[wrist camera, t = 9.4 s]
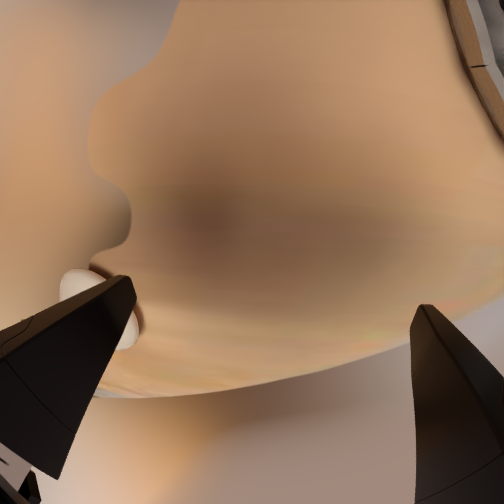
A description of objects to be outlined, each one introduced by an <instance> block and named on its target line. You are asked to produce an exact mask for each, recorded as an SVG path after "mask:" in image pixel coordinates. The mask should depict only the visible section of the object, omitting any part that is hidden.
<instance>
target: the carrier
mask: <svg viewBox="0 0 504 504" xmlns="http://www.w3.org/2000/svg"><path fill="white" fill-rule="evenodd" d="M445 2H446V8H447V13H448V17H449V21H450V25H451V29H452V32H453V35H454V38H455V42H456V45H457V48H458V51H459V53H460V56H461V58H462V61H463V64H464V67H465V69H466V71H467V73H468V76H469V78H470V80H471V83H472V85H473V87H474V89H475V91H476V93H477V95H478V97H479V99H480V101H481V103H482V105H483V107H484V109H485V111H486V112H487V114H488V116H489V118H490V120H491V122H492V123H493V125H494V126H495V128H496V129H497V131H498V133H499V134H500V136H501V137H502V139H503V140H504V0H445Z"/></svg>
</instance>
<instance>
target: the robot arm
mask: <svg viewBox="0 0 504 504" xmlns="http://www.w3.org/2000/svg"><path fill="white" fill-rule="evenodd" d="M136 300H137V296H136V292H135V289H134V286H133V283H132V280H131V278H130V277H129V276H125V275H117V276H115V277H112V278H110V279H108V280H106V281H104V282H102V283H99V284H97V285H95V286H93V287H91V288H89V289H87V290H84V291H82V292H80V293H78V294H76V295H74V296H72V297H70V298H68V299H66V300H63V301H61V302H59V303H57V304H55V305H53V306H51V307H49V308H47V309H45V310H43V311H41V312H39V313H37V314H35V316H34V315H33V316H31V317H29V318H27V319H25V320H23V321H21V322H19V323H17V324H15V325H13V326H10V327H8V328H6V329H4V330H1V331H0V504H40V502H41V497H40V493H39V489H38V485H37V480H36V475H35V473H34V472H33V471H32V470H31V467H32V465H33V466H34V467H36V468H37V469H39V470H40V471H42V472H44V473H45V474H47V475H49V476H51V477H53V478H54V479H56V480H58V479H59V477H60V474H61V472H62V469H63V466H64V463H65V461H66V458H67V456H68V453H69V450H70V448H71V445H72V443H73V440H74V438H75V434H76V433H77V430H78V428H79V426H80V423H81V421H82V418H83V416H84V414H85V412H86V410H87V407H88V405H89V403H90V401H91V399H92V396H93V394H94V392H95V390H96V388H97V386H98V384H99V381H100V379H101V377H102V375H103V373H104V371H105V369H106V367H107V365H108V363H109V361H110V359H111V357H112V355H113V353H114V351H115V349H116V347H117V345H118V343H119V341H120V339H121V337H122V335H123V333H124V330H125V328H126V325H127V323H128V320H129V318H130V315H131V313H132V311H133V308H134V306H135V304H136ZM410 345H411V377H412V389H413V398H414V411H415V425H416V426H415V427H416V488H415V503H414V504H504V377H503V376H502V375H501V374H500V373H499V372H498V370H497V369H496V368H495V367H494V366H493V365H492V364H491V363H490V362H489V361H488V360H487V359H486V358H485V356H484V355H483V354H482V353H481V352H480V351H479V350H478V349H477V348H476V347H475V346H474V345H473V344H472V343H471V342H470V341H469V340H468V339H467V338H466V337H465V336H464V335H463V334H462V333H461V332H460V331H459V330H458V329H457V328H456V327H455V326H454V325H453V324H452V323H451V322H450V321H449V320H448V319H447V318H446V317H445V316H444V315H443V314H442V313H441V312H440V311H439V310H437V309H436V308H435V307H434V306H433V305H430V304H421V305H419V306H418V308H417V311H416V313H415V316H414V318H413V321H412V323H411V326H410Z"/></svg>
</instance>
